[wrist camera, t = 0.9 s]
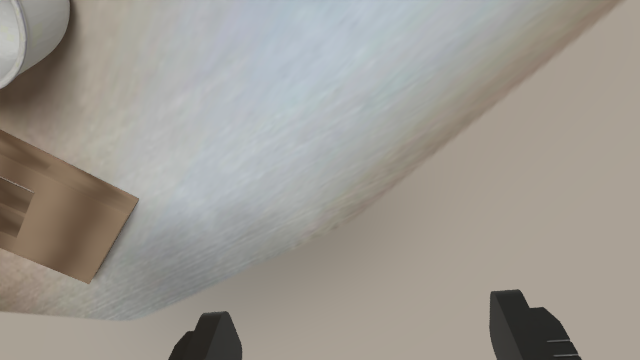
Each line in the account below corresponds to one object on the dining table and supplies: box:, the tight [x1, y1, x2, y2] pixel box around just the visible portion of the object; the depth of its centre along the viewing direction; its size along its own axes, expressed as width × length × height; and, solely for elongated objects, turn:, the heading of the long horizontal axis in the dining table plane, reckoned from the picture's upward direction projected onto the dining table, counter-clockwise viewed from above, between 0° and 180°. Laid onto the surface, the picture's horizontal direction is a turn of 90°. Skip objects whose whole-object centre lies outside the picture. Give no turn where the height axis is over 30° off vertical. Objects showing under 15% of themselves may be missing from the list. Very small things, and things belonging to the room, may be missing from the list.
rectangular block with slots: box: [0, 130, 139, 284], centre depth 36 cm, size 20×11×2 cm, turn 54°
